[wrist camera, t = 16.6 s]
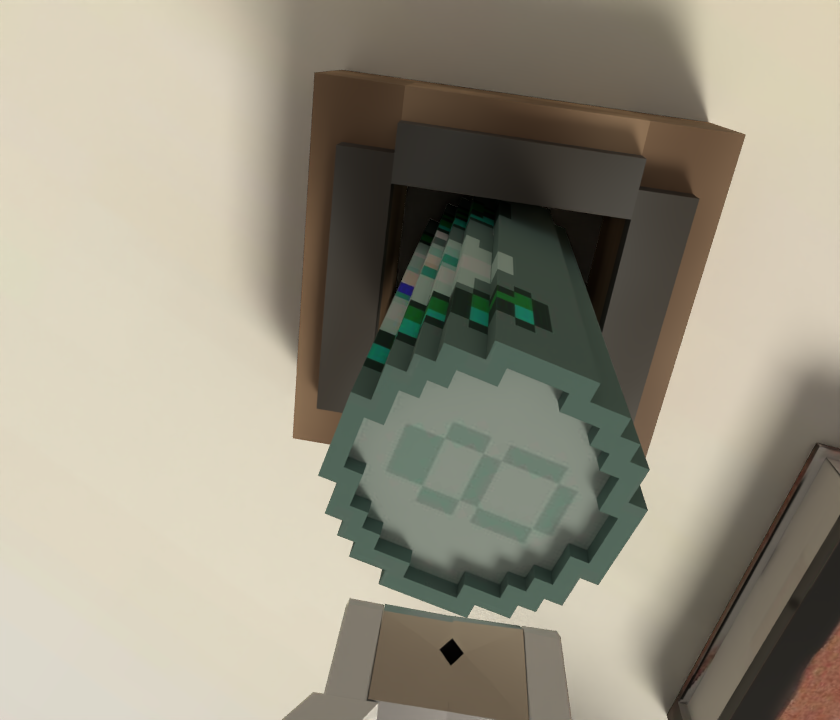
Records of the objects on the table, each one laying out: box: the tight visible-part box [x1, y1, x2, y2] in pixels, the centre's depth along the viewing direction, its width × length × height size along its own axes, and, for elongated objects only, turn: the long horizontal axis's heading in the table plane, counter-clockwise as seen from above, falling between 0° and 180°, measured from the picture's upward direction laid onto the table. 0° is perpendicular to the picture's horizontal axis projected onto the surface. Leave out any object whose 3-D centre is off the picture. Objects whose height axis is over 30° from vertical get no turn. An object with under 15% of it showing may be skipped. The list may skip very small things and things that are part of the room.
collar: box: [293, 70, 745, 458], centre depth 25 cm, size 13×13×5 cm
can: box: [318, 196, 650, 618], centre depth 20 cm, size 6×6×15 cm
